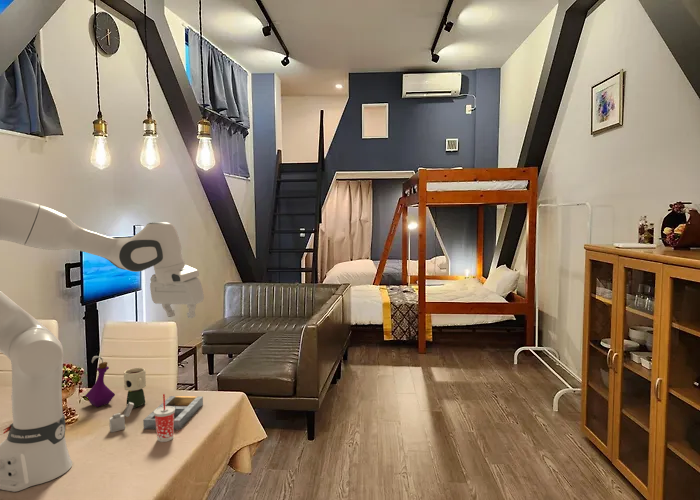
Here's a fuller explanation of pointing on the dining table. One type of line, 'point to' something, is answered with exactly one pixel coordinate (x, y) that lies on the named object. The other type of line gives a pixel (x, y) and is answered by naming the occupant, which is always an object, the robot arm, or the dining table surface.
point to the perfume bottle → (100, 387)
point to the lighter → (120, 419)
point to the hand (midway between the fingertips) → (181, 316)
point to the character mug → (135, 385)
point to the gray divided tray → (177, 410)
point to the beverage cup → (164, 422)
